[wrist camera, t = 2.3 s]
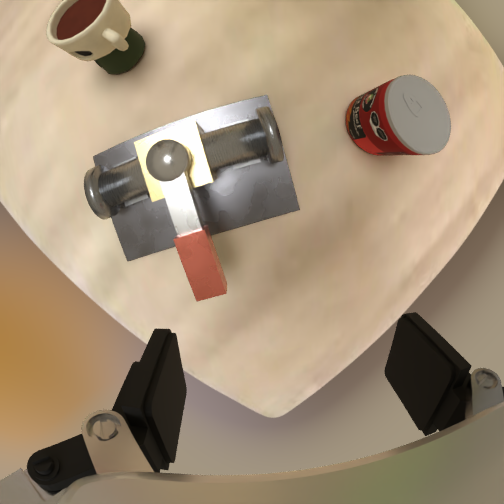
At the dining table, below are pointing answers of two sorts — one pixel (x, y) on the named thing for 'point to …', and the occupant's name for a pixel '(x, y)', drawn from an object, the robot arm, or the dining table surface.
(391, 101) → the canned food
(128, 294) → the dining table surface
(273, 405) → the dining table surface
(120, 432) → the robot arm
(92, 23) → the character mug
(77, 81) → the dining table surface
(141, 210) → the valve
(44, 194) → the dining table surface
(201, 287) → the lever
